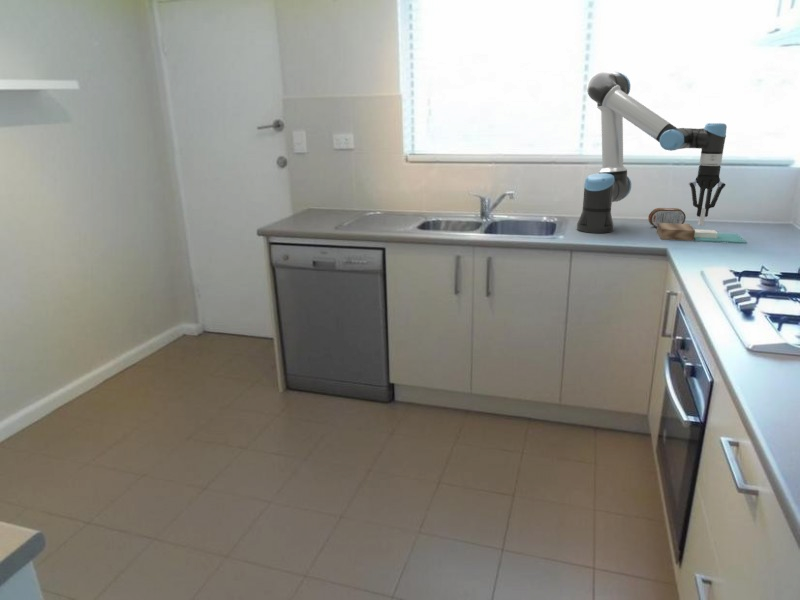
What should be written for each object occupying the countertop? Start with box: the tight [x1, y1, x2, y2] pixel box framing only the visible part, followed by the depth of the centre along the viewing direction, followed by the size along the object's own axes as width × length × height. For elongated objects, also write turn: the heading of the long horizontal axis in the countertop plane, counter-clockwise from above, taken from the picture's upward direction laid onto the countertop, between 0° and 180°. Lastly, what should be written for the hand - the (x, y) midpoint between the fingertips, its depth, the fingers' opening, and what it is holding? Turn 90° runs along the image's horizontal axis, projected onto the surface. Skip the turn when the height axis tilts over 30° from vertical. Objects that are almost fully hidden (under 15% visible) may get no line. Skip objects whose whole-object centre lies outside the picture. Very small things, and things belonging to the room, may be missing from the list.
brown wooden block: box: [656, 223, 695, 241], centre depth 234 cm, size 12×14×4 cm
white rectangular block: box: [693, 228, 719, 238], centre depth 231 cm, size 9×6×2 cm, turn 73°
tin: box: [648, 207, 687, 228], centre depth 251 cm, size 15×3×8 cm, turn 84°
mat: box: [694, 232, 748, 244], centre depth 230 cm, size 18×16×1 cm
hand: (700, 224), depth 230 cm, fingers closed
